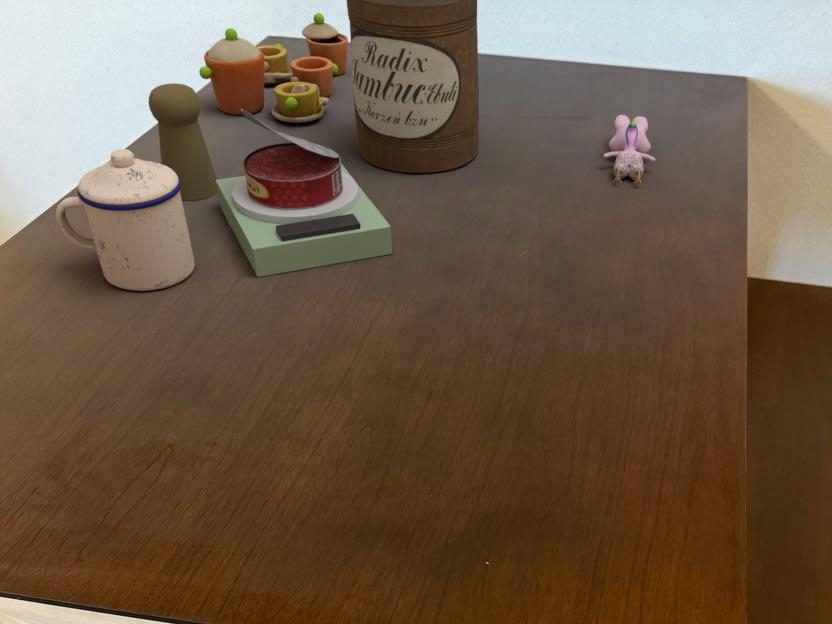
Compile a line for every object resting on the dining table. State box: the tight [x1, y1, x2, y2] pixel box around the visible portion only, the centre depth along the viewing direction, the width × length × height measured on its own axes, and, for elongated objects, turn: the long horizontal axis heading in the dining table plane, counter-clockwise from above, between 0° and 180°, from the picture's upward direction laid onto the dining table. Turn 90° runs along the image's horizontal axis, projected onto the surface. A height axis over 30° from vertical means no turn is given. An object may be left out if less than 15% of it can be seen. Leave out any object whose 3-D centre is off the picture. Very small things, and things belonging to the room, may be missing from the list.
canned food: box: [241, 109, 343, 210], centre depth 99 cm, size 11×10×10 cm
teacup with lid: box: [55, 148, 196, 292], centre depth 91 cm, size 12×9×12 cm
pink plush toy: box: [602, 114, 656, 185], centre depth 117 cm, size 6×6×15 cm
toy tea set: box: [198, 12, 349, 124], centre depth 129 cm, size 26×16×10 cm, turn 174°
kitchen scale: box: [215, 163, 393, 278], centre depth 101 cm, size 17×14×4 cm
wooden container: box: [346, 0, 480, 174], centre depth 112 cm, size 15×15×22 cm
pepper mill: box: [148, 83, 218, 202], centre depth 105 cm, size 6×6×11 cm
